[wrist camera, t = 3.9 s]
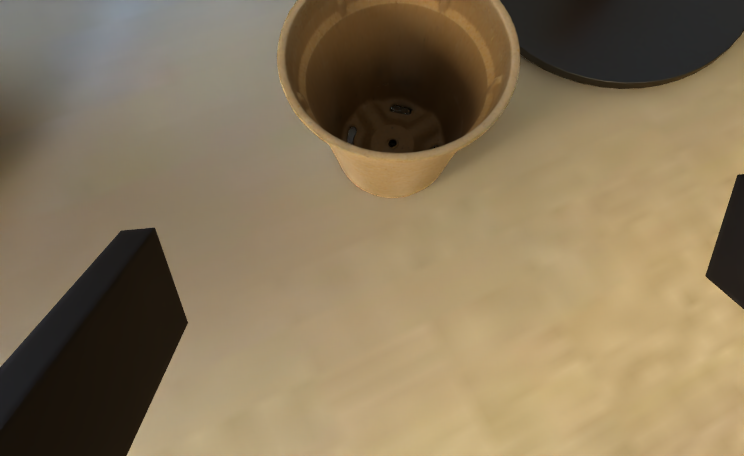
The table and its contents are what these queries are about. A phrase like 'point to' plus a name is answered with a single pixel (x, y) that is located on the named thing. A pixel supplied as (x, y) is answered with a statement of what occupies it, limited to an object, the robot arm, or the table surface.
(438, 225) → the table surface
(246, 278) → the table surface
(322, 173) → the table surface
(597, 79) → the lid
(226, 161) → the table surface
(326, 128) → the flower pot
